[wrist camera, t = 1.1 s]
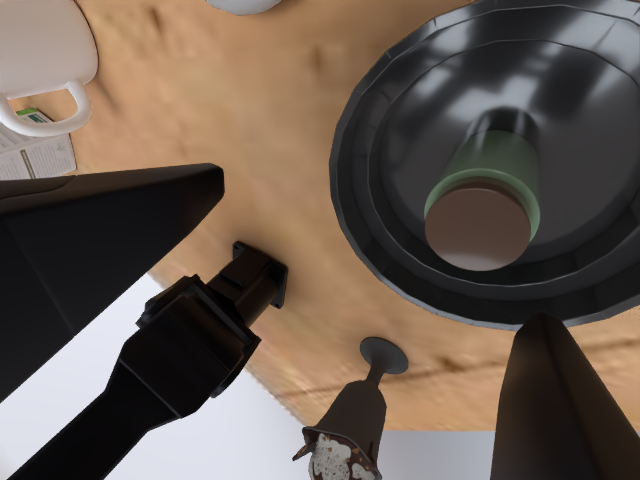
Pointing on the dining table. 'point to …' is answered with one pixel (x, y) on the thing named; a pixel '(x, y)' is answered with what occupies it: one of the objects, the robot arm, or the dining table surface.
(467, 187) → the spice jar
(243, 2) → the donut
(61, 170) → the syrup box
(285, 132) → the dining table surface
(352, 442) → the sundae
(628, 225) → the black frying pan
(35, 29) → the cup
